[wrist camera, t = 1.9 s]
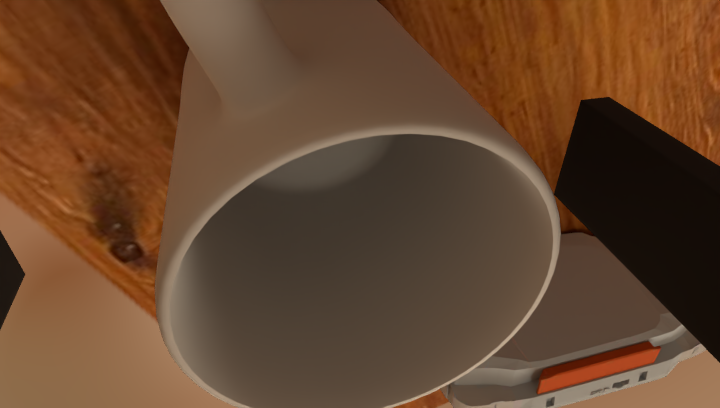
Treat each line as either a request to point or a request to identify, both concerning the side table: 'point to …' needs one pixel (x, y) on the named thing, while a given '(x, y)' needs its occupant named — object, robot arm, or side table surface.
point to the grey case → (580, 338)
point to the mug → (339, 212)
